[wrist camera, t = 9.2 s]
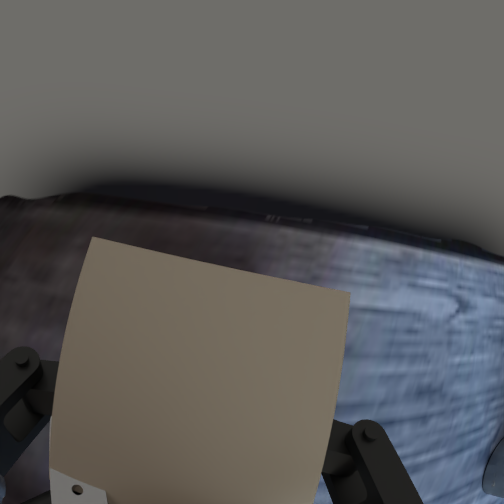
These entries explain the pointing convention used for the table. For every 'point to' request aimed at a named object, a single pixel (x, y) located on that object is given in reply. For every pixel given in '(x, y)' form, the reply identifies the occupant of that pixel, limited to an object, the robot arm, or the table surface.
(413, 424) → the table surface
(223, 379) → the sage canister
